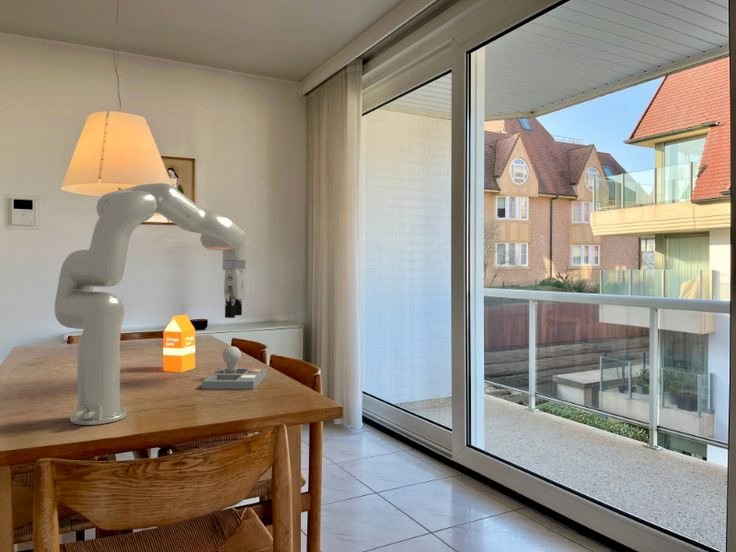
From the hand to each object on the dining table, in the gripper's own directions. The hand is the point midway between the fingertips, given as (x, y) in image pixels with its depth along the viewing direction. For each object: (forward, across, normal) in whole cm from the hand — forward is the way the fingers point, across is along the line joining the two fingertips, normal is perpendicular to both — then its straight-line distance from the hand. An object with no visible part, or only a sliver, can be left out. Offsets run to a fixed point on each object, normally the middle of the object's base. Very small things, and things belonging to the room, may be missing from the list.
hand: (233, 316), depth 181 cm
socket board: (+21, -5, -2) cm, 22 cm away
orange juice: (+21, +16, +24) cm, 36 cm away
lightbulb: (+21, 0, 0) cm, 21 cm away
